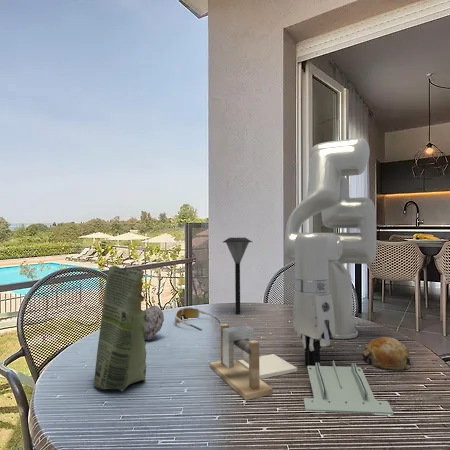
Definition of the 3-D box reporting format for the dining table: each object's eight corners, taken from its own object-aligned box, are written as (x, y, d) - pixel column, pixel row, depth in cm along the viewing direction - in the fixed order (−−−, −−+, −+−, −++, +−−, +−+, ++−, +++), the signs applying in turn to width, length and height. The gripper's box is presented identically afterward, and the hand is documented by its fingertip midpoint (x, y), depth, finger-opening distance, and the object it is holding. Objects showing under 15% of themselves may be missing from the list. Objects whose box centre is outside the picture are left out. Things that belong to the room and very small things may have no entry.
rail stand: (210, 366, 81) (209, 324, 81) (232, 362, 84) (232, 321, 84) (245, 400, 65) (245, 346, 65) (272, 393, 67) (272, 342, 67)
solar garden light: (259, 313, 135) (259, 237, 135) (239, 319, 126) (238, 237, 127) (236, 309, 143) (236, 237, 144) (215, 314, 134) (215, 237, 135)
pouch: (104, 371, 79) (105, 262, 79) (156, 372, 78) (156, 262, 79) (83, 394, 67) (84, 267, 68) (143, 395, 67) (143, 267, 68)
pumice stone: (159, 333, 109) (158, 301, 109) (168, 339, 102) (168, 306, 102) (126, 338, 103) (126, 305, 104) (134, 345, 97) (134, 310, 97)
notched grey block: (247, 358, 77) (247, 325, 77) (253, 363, 74) (253, 328, 74) (222, 363, 74) (222, 328, 75) (228, 368, 72) (228, 331, 72)
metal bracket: (297, 355, 73) (370, 357, 72) (296, 378, 74) (368, 380, 73) (306, 407, 59) (397, 410, 58) (306, 434, 61) (394, 438, 59)
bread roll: (399, 389, 77) (416, 359, 76) (356, 361, 82) (370, 333, 81) (403, 373, 86) (418, 346, 84) (363, 349, 91) (377, 323, 89)
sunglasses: (193, 317, 131) (194, 304, 130) (224, 329, 122) (226, 315, 121) (166, 325, 119) (167, 311, 119) (199, 339, 110) (200, 324, 110)
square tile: (273, 357, 87) (273, 354, 87) (297, 371, 78) (297, 367, 78) (238, 363, 83) (238, 360, 83) (259, 379, 74) (259, 375, 74)
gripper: (347, 290, 74) (348, 375, 74) (304, 281, 88) (305, 353, 88) (319, 292, 71) (321, 381, 71) (280, 283, 85) (280, 358, 85)
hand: (312, 365), depth 79 cm, fingers closed
